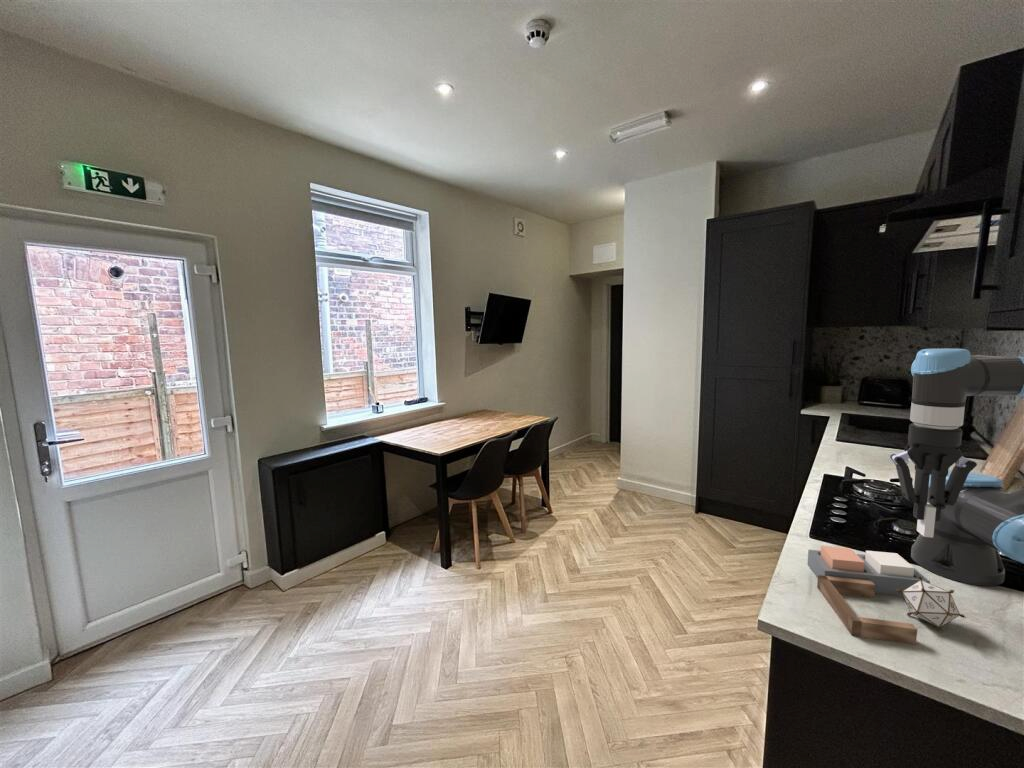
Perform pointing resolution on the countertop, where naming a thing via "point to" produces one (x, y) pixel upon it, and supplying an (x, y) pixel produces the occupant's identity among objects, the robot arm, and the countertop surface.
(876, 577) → the key panel
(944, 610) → the game die
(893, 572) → the ivory key
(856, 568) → the terracotta key
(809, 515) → the countertop surface
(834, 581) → the walnut bracket
